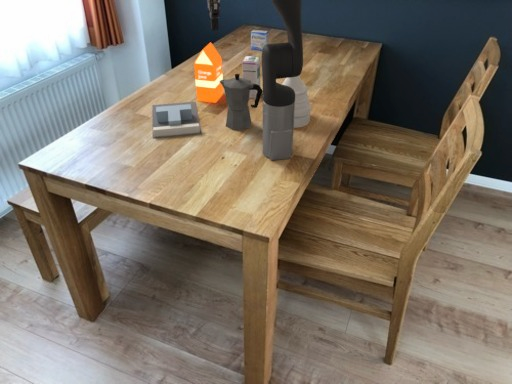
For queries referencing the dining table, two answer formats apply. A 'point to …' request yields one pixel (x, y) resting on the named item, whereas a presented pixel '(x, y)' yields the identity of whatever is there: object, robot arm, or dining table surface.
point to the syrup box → (251, 72)
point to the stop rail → (176, 130)
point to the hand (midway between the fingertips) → (215, 29)
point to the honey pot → (299, 101)
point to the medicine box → (259, 39)
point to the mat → (194, 120)
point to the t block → (174, 114)
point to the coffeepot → (239, 101)
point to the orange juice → (208, 75)
